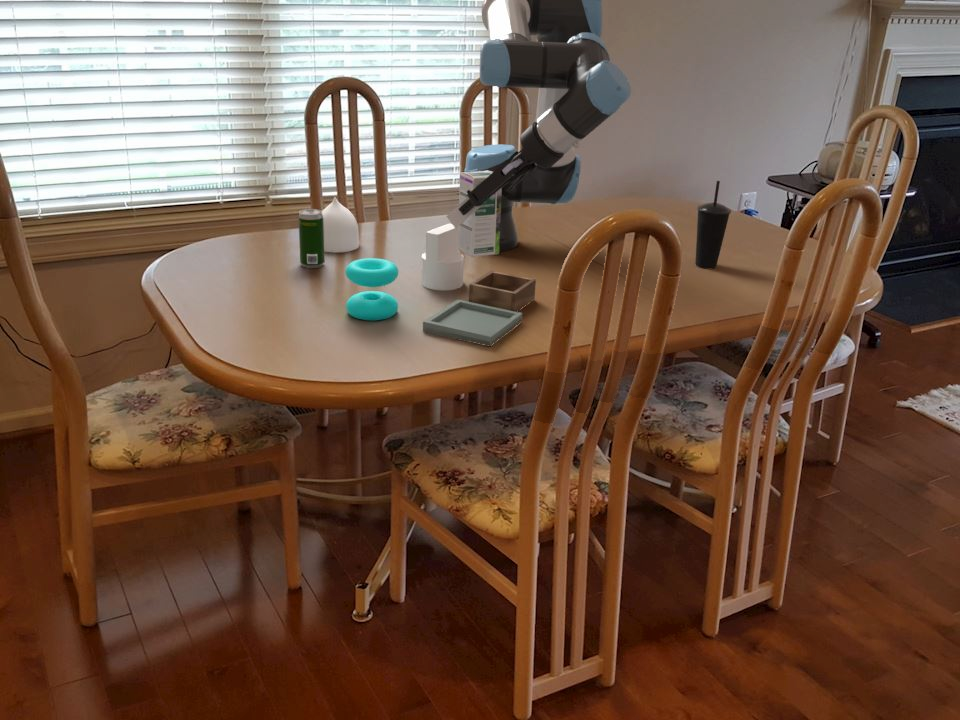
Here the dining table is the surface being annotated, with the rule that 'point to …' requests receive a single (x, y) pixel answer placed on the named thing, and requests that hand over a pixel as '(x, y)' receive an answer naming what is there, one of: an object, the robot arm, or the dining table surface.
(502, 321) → the tray
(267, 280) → the dining table surface
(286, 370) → the dining table surface
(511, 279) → the brown square open box
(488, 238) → the syrup box
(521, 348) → the dining table surface
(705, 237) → the drinking cup
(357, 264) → the donuts
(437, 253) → the cylinder with rectangular tab
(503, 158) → the robot arm
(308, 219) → the beer can
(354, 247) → the teardrop
